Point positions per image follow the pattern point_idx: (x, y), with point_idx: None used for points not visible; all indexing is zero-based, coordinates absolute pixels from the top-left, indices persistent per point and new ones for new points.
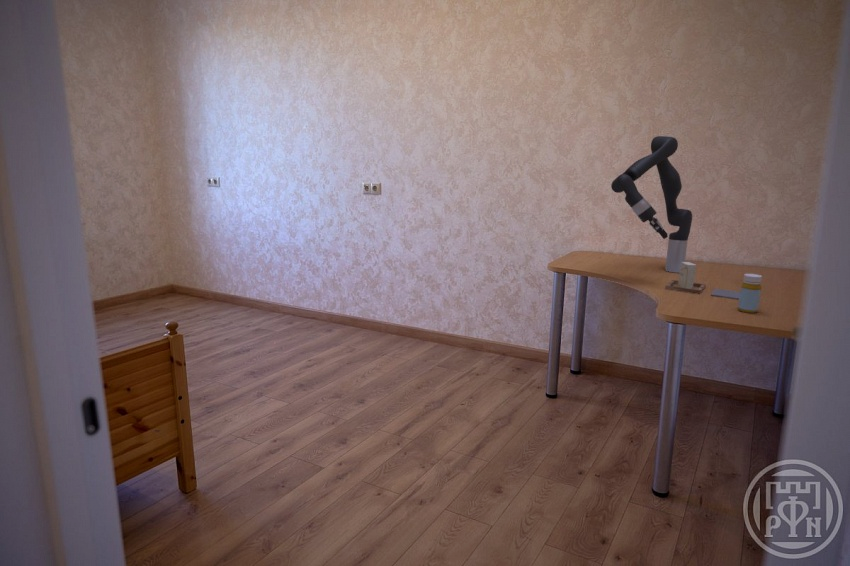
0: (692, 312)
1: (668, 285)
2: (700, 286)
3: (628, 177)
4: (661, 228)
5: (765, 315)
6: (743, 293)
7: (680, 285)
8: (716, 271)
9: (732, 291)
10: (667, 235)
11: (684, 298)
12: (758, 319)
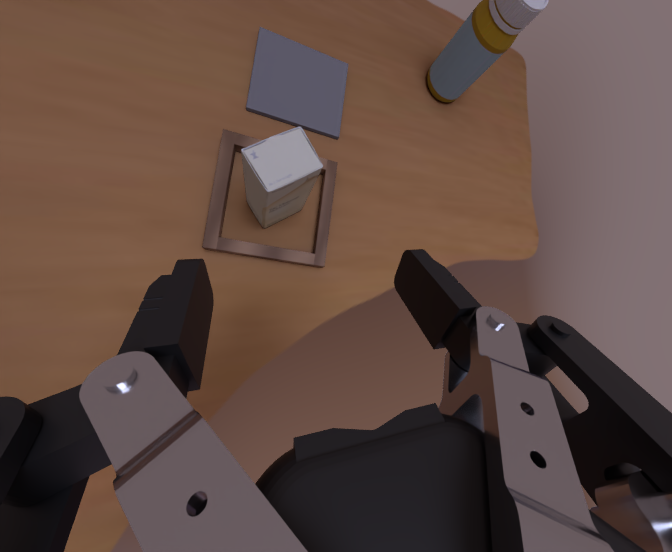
0: (503, 203)
1: (313, 257)
2: None
3: None
4: (567, 325)
5: None
6: (491, 64)
7: (280, 218)
8: None
9: (263, 61)
10: (421, 251)
11: (402, 214)
12: (488, 83)
